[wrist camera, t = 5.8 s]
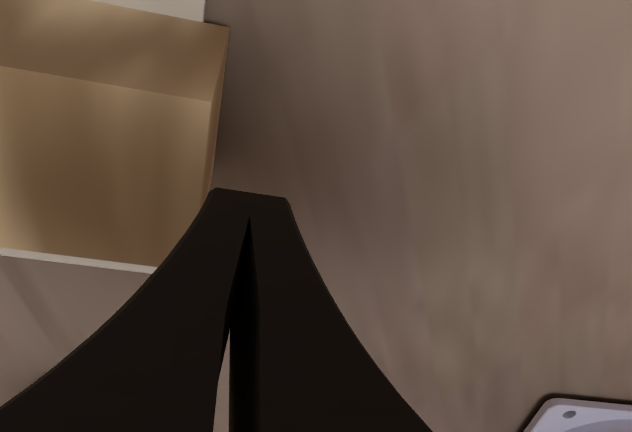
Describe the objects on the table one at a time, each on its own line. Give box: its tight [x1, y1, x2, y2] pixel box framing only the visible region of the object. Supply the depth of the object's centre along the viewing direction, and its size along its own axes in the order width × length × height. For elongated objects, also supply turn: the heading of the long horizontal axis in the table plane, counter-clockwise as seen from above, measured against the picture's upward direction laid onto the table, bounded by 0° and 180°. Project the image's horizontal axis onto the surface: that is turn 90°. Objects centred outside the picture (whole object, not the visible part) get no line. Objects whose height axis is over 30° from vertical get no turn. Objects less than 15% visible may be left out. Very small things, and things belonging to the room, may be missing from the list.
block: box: [0, 0, 230, 267], centre depth 12 cm, size 4×4×8 cm
